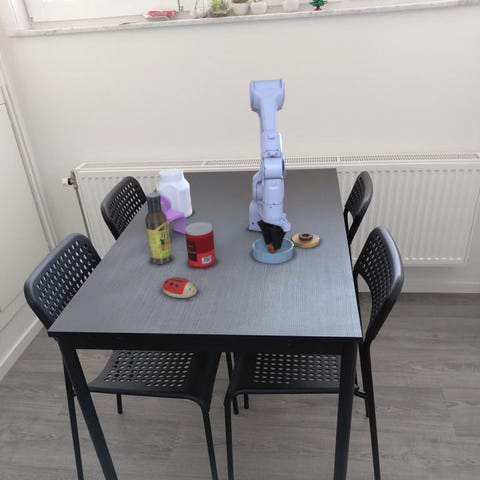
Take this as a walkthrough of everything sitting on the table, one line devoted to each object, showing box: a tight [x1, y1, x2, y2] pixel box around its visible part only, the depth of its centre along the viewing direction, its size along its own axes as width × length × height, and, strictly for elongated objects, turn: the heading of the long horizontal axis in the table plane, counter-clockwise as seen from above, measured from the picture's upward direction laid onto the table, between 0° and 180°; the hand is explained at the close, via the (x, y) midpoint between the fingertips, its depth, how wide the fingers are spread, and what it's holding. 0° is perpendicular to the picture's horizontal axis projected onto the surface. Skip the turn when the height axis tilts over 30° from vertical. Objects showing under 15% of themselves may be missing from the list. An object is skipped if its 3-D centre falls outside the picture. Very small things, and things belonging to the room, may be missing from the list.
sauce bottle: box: [145, 191, 172, 265], centre depth 136 cm, size 6×6×20 cm
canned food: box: [184, 221, 216, 269], centre depth 136 cm, size 8×8×11 cm
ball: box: [268, 242, 278, 253], centre depth 141 cm, size 3×3×3 cm
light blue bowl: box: [251, 237, 295, 265], centre depth 141 cm, size 12×12×3 cm
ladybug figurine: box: [161, 276, 198, 299], centre depth 125 cm, size 7×10×4 cm
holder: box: [291, 232, 320, 249], centre depth 148 cm, size 8×8×2 cm
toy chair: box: [160, 194, 187, 235], centre depth 152 cm, size 8×9×15 cm
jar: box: [155, 167, 193, 219], centre depth 168 cm, size 12×10×15 cm
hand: (273, 246), depth 141 cm, fingers open, 4 cm apart
